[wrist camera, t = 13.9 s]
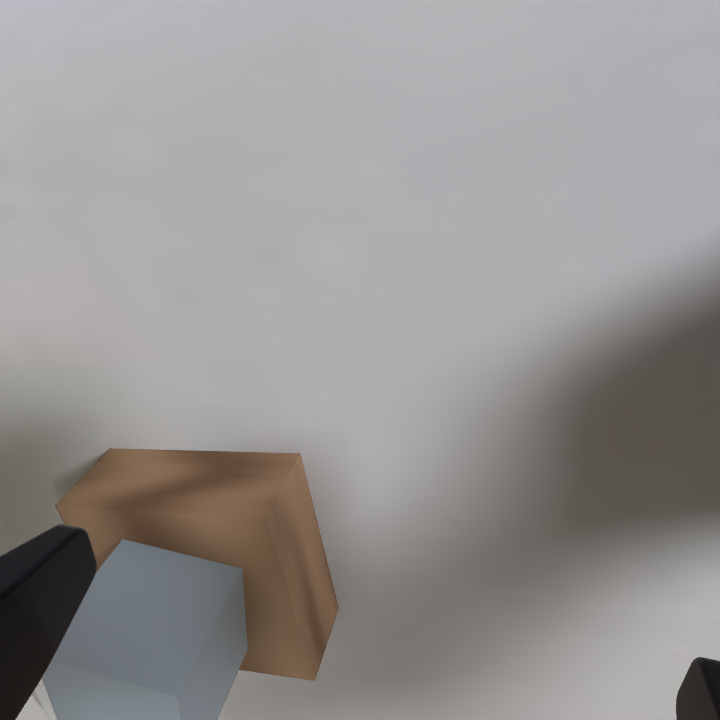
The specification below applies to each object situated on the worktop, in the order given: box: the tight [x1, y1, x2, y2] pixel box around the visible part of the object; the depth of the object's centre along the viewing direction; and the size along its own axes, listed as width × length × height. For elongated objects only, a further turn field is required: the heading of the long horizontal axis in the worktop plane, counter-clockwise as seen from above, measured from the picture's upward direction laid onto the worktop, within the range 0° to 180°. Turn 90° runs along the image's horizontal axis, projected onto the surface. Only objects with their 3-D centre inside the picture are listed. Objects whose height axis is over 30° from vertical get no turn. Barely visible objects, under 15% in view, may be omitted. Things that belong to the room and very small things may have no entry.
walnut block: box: [55, 449, 339, 681], centre depth 26 cm, size 9×9×4 cm
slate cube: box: [42, 539, 248, 720], centre depth 22 cm, size 5×5×5 cm
